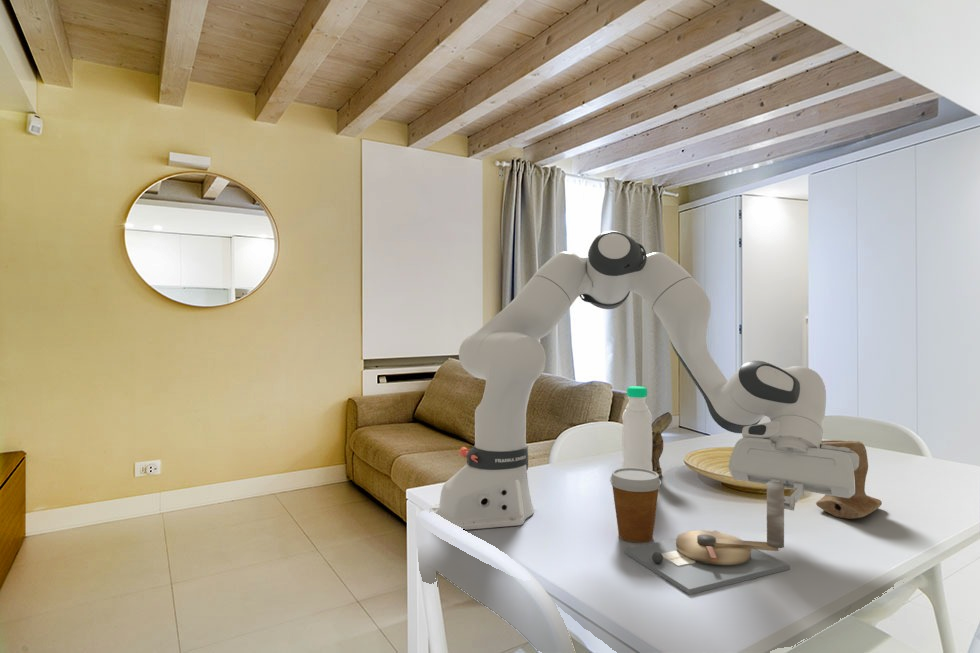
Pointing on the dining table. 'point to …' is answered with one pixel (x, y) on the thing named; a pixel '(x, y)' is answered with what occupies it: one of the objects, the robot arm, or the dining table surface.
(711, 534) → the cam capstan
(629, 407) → the water bottle
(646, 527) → the disposable coffee cup
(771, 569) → the base board
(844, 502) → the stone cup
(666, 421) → the stone sculpture
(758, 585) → the dining table surface
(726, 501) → the dining table surface
